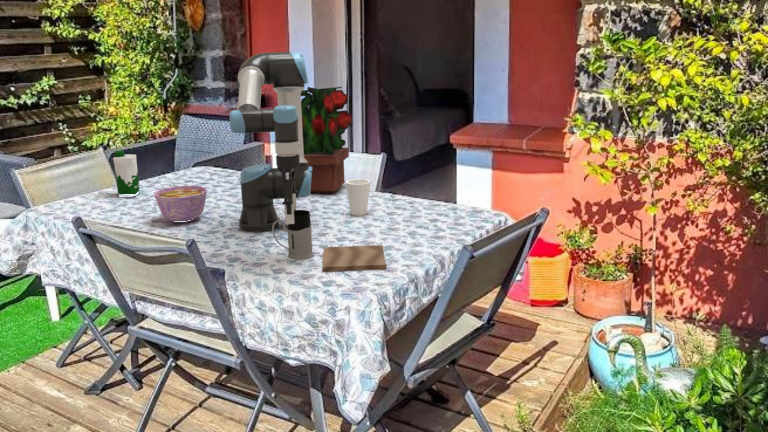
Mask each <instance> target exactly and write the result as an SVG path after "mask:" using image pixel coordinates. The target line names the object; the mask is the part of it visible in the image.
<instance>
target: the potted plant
mask: <svg viewBox="0 0 768 432" xmlns="http://www.w3.org/2000/svg"><path fill="white" fill-rule="evenodd" d="M342 88H343V86H337V87H336V86H335V87H327V88H326V87H325V88H316V87H315V88H314V87H309V86H307V89H306V90H303V91H302V92H301V97H303V98H301V111H302V131H303V150H304V158H305V159H306V160H307V161H308V167H309V166H311V167H312V177H311V190H310V194H313V195H314V194H316V195H317V194H318V195H333V194H334V193H335V192H336V191H337V190H339V189H340V187H342V185H344V184H346V181H345V160H346V159H348V158H349V156H350V147H344V146H345V145H346V140H345V139H342V135H343V134H344V133H345V132H346V130H348V128H349V126H350V128H352V111H351V110H350V112H349V111H348V110H344V108H345V105H347V104H348V102H349V100H348V99H349V97H348V94H346V93H344V90H342ZM342 109H343V110H342ZM338 188H339V189H338Z"/></svg>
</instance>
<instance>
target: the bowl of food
mask: <svg viewBox="0 0 768 432" xmlns="http://www.w3.org/2000/svg"><path fill="white" fill-rule="evenodd" d="M207 192H208V189H207V188H206V187H204V186H199V185H178V186H170V187H166V188H165V187H163V188H162V189H158V190H156V191H154V193H153V194H154V199H155V201H156V204H157V206H158V209H159V211H160V214H161V215H162V216H163V217H164V218H165V219H167V220H169V221H172V222H173V221H188V220H192V219H194V220H195V219H196V218H198V217H200V216H201V215H202V214H203V212H204V210H205V205H206V199H207V198H206V197H207Z"/></svg>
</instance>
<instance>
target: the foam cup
mask: <svg viewBox="0 0 768 432" xmlns="http://www.w3.org/2000/svg"><path fill="white" fill-rule="evenodd" d="M370 188H371V181H370V180H369V179H363V178H353V179H349V180H346V181H345V189H346V193H347V199H348V204H349V205H348V206H349V210H350V214H351V215H352V216H357V217H358V216H365V215H367V213H368V205H369V197H370Z"/></svg>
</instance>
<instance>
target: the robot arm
mask: <svg viewBox="0 0 768 432" xmlns="http://www.w3.org/2000/svg"><path fill="white" fill-rule="evenodd" d="M306 68H307V67H306V63H305V58H304V55H303V53H301V52H299V51H278V52H277V51H276V52H259V53H257V54H256V53H255V54H254V55H252V56H251V57H249V58H247V59H246V60H245V61H244V62H243V63H242V64H241V65H240V68H239V70H238V73H237V82H238V84H239V91H238V100H237V109H235V110H234V109H233V110H231V111H230V112H229V125H230V130H231V132H232V133H234V134H251V133H253V134H254V133H256V134H257V133H274V149H275V154H276V156H275V157H276V158H275V161H276V167H273V166H272V165H271V164H270V163H260V164H259V163H258V164H254V165H253V164H252V165H250V166H247V167H245V168H243V169H242V170H240V175H239V177H240V182H239V183H240V189H241V190H240V191H241V202H242V203H241V204H242V207H241V208H242V209H241V214H240V217H239V220H238V226H239V227H238V228H239V230H242V231H243V230H244V232H251V233H259V232H268V231H272V226H273V223H274V222H276V221H278V220H280V217H279V215H278V213H277V211H276V208H275V205H274V203H275V202H274V200H283V201H282V202H281V203H282V204H281V205H282V206H284V216H285V225H288V224H294V210H297V199H301V198H303V199H304V198H308V197H309V196H310V195H311V193H310V190H311V177H312V167H311V166H309V167H308V161H307V160H306V159H305V158H304V150H303V131H302V111H301V100H302V96H301V92H302V91H303V90H304V89H305V85H306V84H308V83H309V80H308V73H307V70H306ZM265 85H269V86H270V85H272V90H273V91H274V92H275V93H276V94H277V105H276V106H274V107H273V108H266V109H264V108H261V99H262V87H263V86H265ZM280 225H281V224H280V222H277V223H276V224H275V225H274V230H275V229H277V228H278V227H280Z"/></svg>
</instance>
